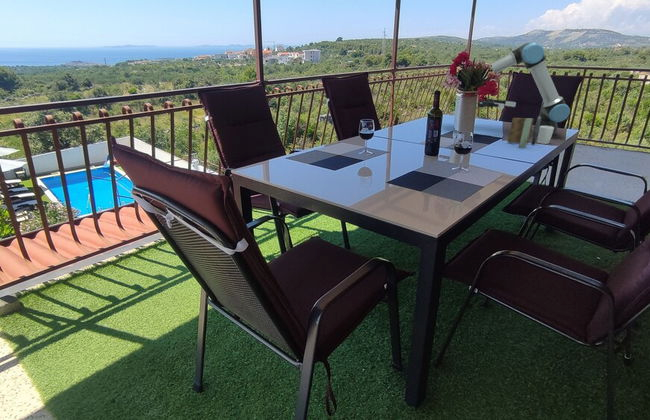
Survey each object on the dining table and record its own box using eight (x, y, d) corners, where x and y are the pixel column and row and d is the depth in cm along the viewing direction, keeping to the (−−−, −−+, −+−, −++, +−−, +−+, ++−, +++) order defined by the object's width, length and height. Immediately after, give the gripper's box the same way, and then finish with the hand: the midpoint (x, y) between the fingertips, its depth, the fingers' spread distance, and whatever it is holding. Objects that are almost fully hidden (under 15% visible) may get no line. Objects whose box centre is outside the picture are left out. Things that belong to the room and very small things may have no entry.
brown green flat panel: (527, 142, 232) (533, 118, 226) (528, 143, 231) (534, 118, 225) (507, 141, 233) (512, 117, 227) (508, 142, 232) (513, 118, 226)
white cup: (548, 145, 229) (553, 128, 225) (534, 143, 233) (538, 127, 229) (550, 142, 235) (555, 126, 231) (537, 140, 239) (541, 125, 235)
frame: (532, 143, 231) (539, 116, 224) (535, 144, 230) (542, 116, 223) (518, 147, 223) (525, 118, 216) (522, 148, 222) (528, 119, 215)
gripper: (488, 105, 253) (518, 110, 237) (466, 108, 240) (497, 113, 224) (490, 94, 250) (521, 97, 233) (468, 96, 237) (499, 100, 221)
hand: (509, 105), depth 229 cm, fingers open, 12 cm apart
